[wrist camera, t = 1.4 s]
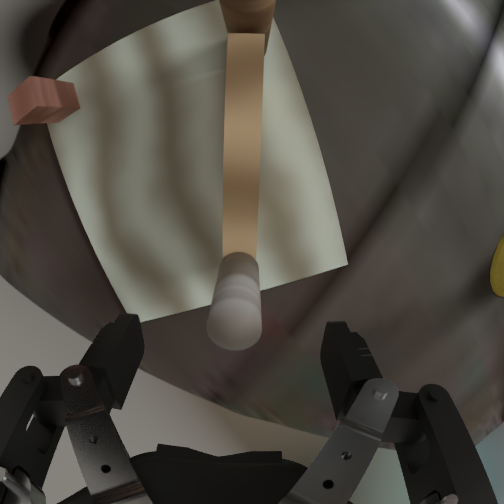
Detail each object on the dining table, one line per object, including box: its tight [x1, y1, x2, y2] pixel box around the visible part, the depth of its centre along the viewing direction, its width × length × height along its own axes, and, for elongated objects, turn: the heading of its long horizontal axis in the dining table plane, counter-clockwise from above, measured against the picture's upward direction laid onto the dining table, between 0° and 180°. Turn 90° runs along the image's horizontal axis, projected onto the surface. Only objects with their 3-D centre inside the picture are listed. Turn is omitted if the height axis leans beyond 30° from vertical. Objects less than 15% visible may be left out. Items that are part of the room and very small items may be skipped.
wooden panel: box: [207, 33, 265, 350], centre depth 18 cm, size 17×2×15 cm, turn 178°
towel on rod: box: [8, 0, 348, 322], centre depth 18 cm, size 24×28×16 cm
